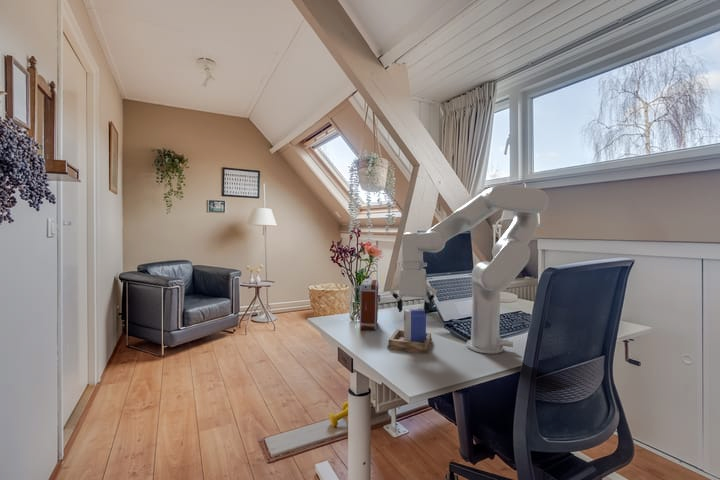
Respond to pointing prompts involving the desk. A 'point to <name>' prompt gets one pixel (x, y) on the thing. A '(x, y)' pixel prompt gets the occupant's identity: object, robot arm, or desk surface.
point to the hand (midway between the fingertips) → (413, 311)
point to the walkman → (414, 325)
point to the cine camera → (369, 304)
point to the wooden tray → (408, 343)
